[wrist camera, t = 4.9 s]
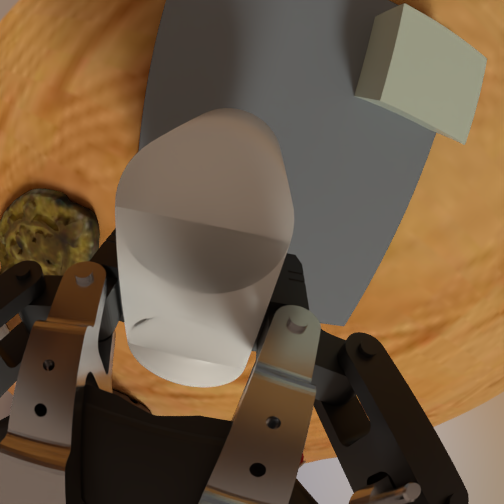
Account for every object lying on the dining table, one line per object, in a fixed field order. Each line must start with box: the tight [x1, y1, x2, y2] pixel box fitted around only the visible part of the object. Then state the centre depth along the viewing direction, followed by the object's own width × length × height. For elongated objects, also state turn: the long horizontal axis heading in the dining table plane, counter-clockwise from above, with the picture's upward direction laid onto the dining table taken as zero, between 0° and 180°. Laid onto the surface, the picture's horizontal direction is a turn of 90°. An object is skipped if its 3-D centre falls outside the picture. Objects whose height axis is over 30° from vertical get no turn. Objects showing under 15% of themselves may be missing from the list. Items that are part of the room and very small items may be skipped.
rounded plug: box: [115, 108, 294, 387], centre depth 10 cm, size 12×4×5 cm, turn 168°
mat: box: [139, 0, 436, 326], centre depth 15 cm, size 22×16×1 cm
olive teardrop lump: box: [0, 189, 100, 275], centre depth 17 cm, size 9×5×15 cm
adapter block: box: [354, 3, 487, 145], centre depth 10 cm, size 5×5×4 cm
